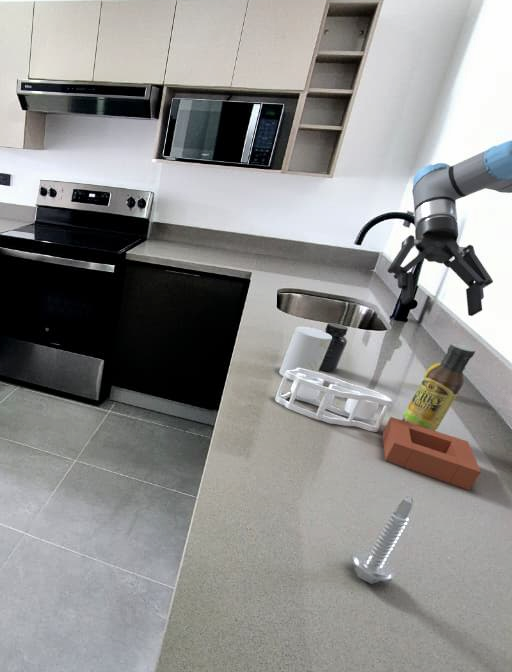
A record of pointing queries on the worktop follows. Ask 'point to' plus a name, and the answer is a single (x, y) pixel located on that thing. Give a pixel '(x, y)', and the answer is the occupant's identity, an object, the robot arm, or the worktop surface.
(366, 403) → the skeletal toy car
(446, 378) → the sauce bottle
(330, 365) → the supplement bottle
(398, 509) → the screw
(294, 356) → the cup
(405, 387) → the worktop surface
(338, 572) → the worktop surface
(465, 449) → the base pad
